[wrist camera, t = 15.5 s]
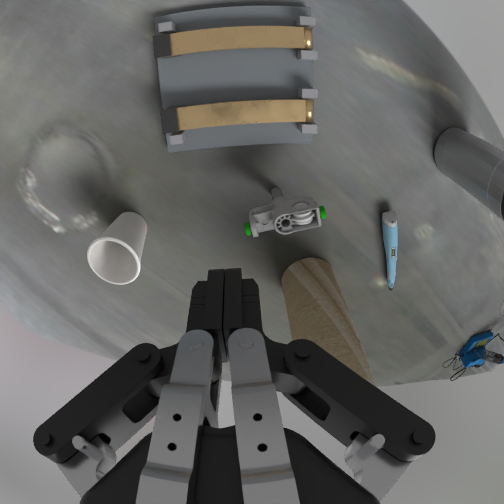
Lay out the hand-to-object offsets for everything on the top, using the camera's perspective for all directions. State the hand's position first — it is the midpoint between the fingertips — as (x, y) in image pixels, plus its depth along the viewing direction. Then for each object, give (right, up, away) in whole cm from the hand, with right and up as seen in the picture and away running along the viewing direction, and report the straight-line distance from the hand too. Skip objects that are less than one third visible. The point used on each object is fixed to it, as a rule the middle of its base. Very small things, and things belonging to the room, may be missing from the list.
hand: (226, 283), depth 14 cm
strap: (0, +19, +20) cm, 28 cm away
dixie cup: (-19, +6, +32) cm, 38 cm away
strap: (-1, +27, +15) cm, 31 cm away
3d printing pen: (+29, 0, +44) cm, 53 cm away
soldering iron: (+88, -42, +74) cm, 123 cm away
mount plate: (-1, +25, +20) cm, 32 cm away
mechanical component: (+5, +11, +30) cm, 33 cm away
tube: (+12, -3, +41) cm, 43 cm away
